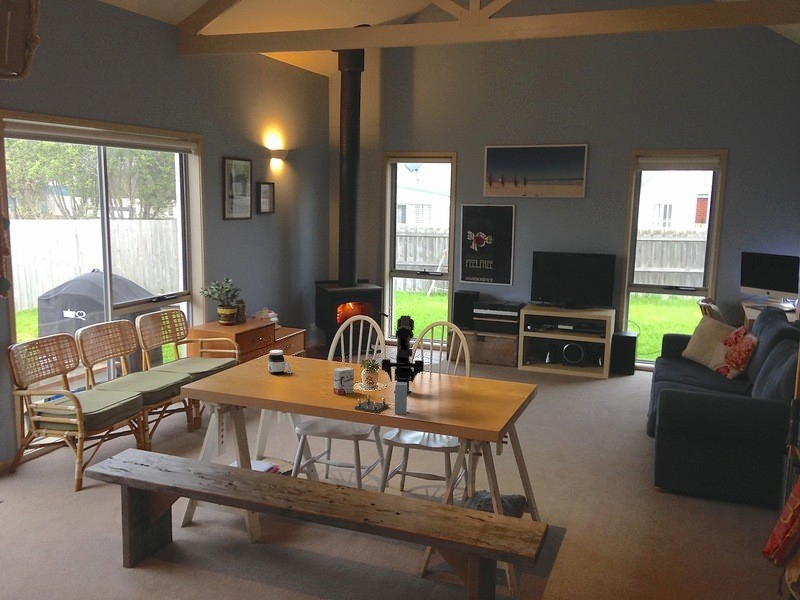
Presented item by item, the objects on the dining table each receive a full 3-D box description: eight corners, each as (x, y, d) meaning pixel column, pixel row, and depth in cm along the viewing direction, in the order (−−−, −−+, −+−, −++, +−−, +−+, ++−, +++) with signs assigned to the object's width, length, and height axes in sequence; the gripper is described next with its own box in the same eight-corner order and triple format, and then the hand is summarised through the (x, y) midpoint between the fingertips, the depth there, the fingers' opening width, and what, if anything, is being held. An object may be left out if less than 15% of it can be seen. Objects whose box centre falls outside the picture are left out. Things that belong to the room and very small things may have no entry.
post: (395, 410, 304) (395, 381, 303) (406, 411, 304) (407, 382, 302) (394, 414, 299) (395, 384, 298) (406, 414, 299) (406, 385, 297)
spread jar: (266, 371, 369) (266, 349, 368) (286, 369, 375) (286, 348, 373) (273, 376, 359) (273, 354, 357) (294, 374, 364) (294, 352, 362)
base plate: (367, 403, 315) (367, 394, 315) (388, 406, 310) (388, 397, 309) (354, 409, 305) (354, 399, 305) (376, 413, 300) (376, 403, 300)
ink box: (338, 395, 327) (338, 370, 325) (333, 392, 331) (333, 368, 329) (354, 392, 332) (354, 368, 330) (348, 390, 336) (349, 366, 334)
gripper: (382, 341, 310) (380, 371, 300) (424, 342, 309) (423, 372, 299) (382, 355, 318) (380, 384, 309) (423, 356, 318) (422, 386, 308)
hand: (401, 381), depth 306 cm, fingers open, 9 cm apart
